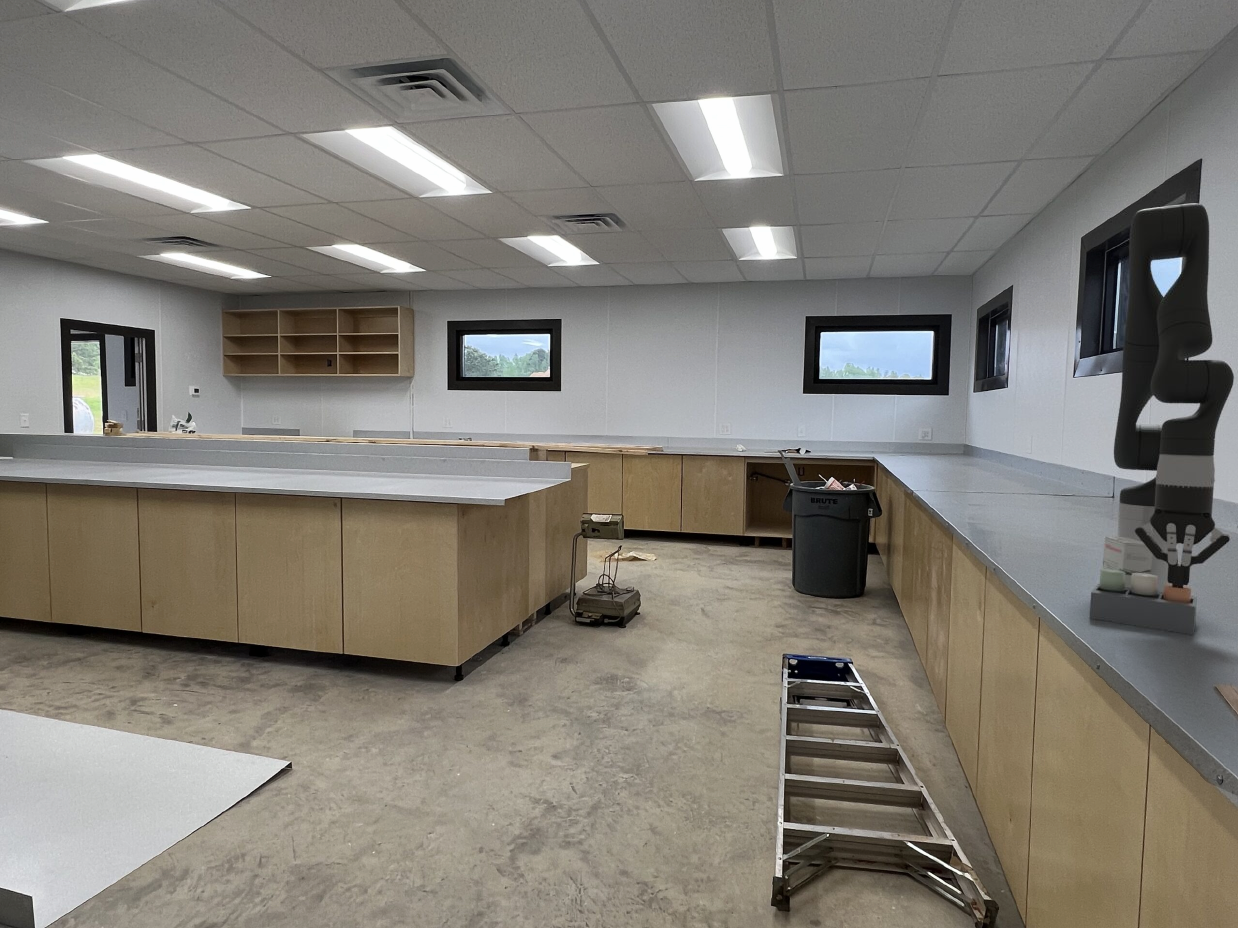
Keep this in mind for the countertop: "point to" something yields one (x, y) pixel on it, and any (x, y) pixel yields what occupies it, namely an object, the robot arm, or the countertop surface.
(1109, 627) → the countertop surface
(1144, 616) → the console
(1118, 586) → the sage button
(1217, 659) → the countertop surface
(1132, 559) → the ink box
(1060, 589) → the countertop surface
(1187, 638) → the countertop surface
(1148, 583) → the cream button
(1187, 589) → the terracotta button
